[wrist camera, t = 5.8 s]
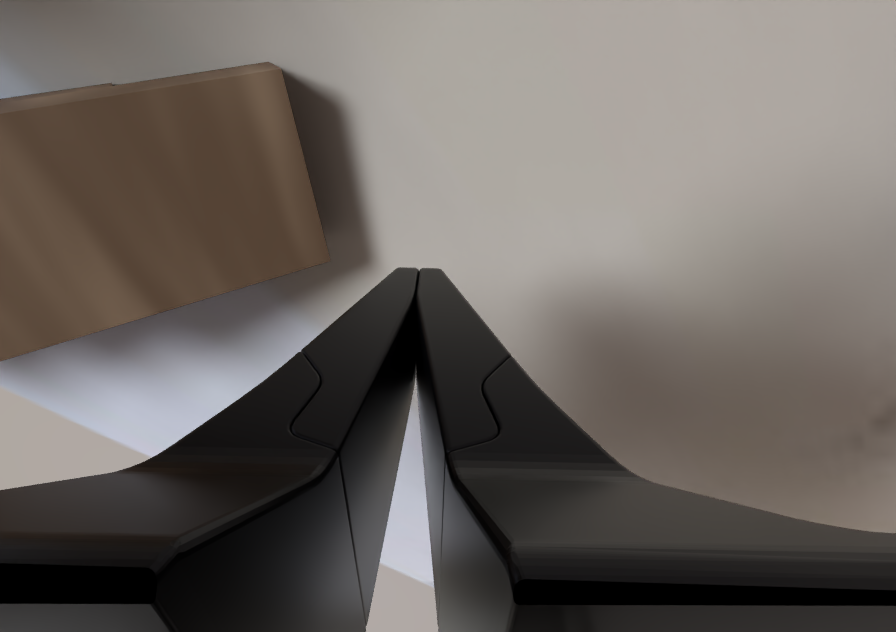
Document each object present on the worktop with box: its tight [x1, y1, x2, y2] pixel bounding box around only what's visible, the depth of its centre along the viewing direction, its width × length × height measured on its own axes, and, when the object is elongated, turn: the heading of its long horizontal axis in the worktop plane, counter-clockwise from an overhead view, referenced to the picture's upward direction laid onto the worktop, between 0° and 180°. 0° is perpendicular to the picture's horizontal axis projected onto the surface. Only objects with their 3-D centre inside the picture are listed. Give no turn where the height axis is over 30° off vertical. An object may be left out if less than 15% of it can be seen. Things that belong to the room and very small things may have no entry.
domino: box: [0, 62, 330, 361], centre depth 11 cm, size 2×5×10 cm
